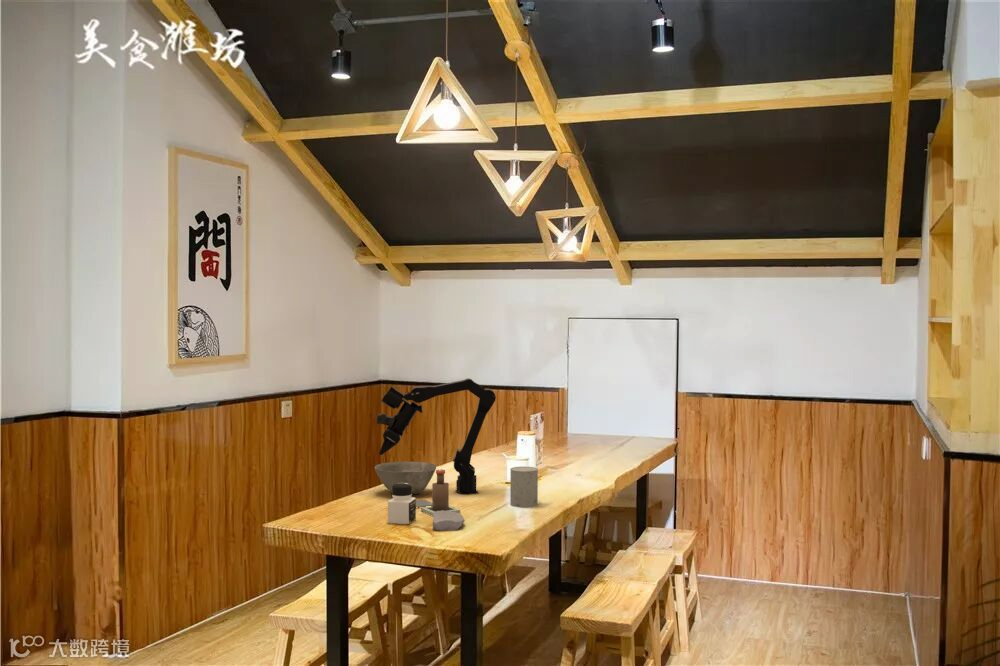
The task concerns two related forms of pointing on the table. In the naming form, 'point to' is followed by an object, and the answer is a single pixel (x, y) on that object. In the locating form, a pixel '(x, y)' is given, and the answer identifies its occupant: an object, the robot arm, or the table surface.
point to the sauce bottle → (440, 493)
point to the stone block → (447, 520)
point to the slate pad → (423, 503)
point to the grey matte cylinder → (524, 487)
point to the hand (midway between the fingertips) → (381, 452)
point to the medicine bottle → (401, 505)
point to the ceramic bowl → (406, 474)
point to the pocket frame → (429, 511)
